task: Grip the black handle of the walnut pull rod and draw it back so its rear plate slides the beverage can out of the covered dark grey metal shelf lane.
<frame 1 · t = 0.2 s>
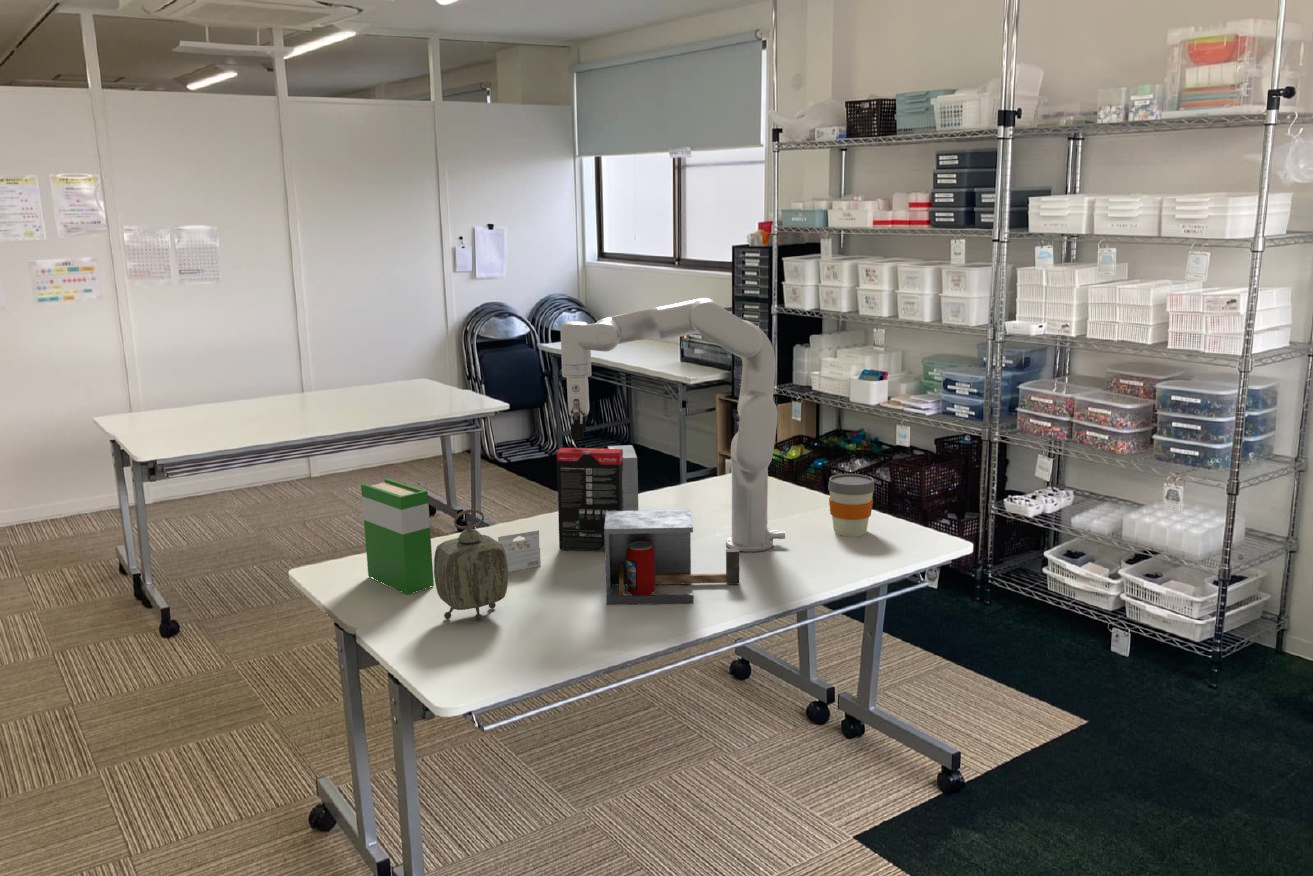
hand: (578, 435, 270), 31 cm above the table, tool pointing down, fingers open, 9 cm apart
hard drive box: (624, 517, 305), on the table
pull rod: (680, 573, 244), point 5 cm above the table, slide at 0.0 cm
tabletop clock: (475, 618, 231), on the table
graphics card box: (592, 548, 277), on the table
beverage can: (641, 594, 244), on the table
ink box: (518, 569, 262), on the table
hardback book: (400, 582, 254), on the table
reusable coffee cup: (850, 532, 288), on the table
shelf lane: (649, 593, 244), on the table
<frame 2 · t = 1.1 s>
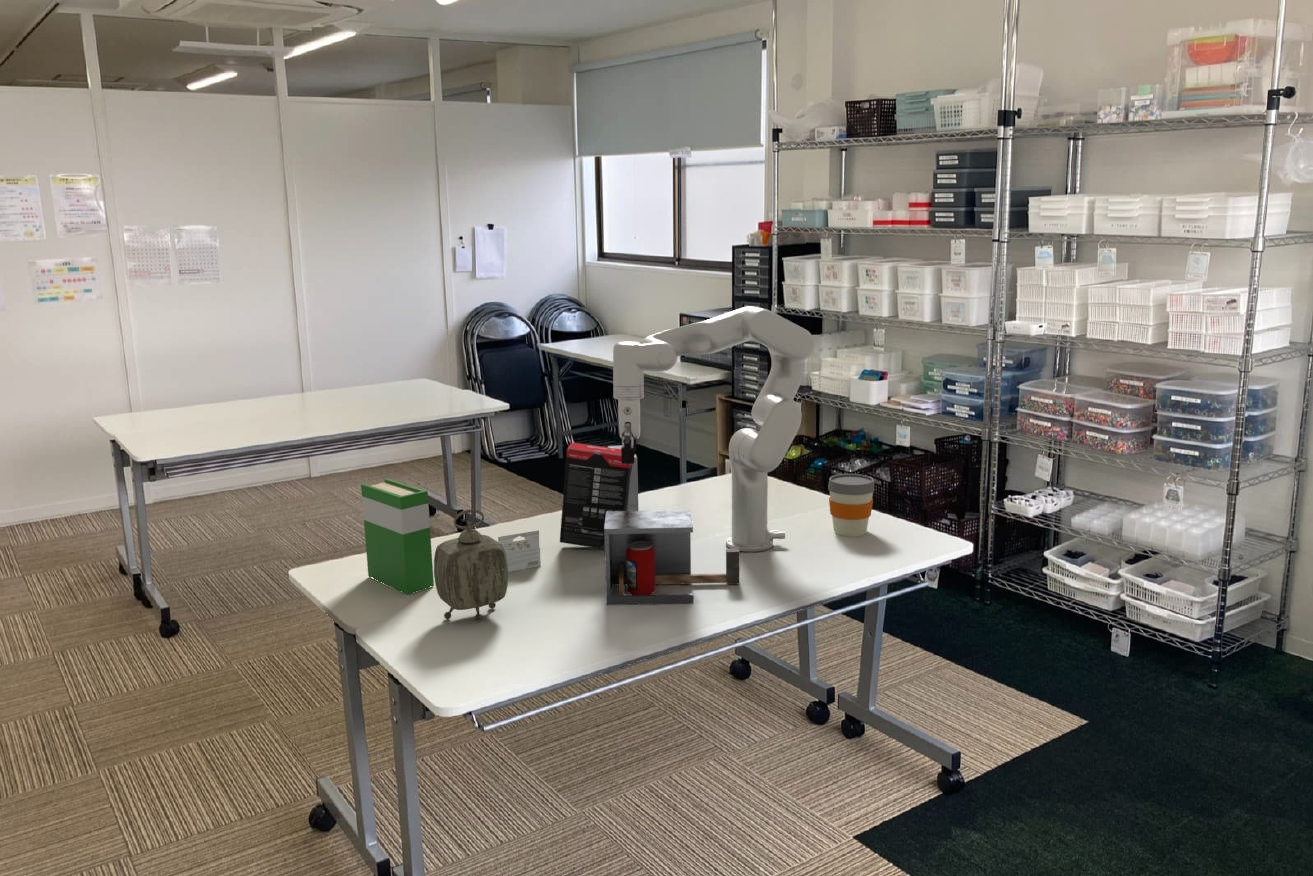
hand: (628, 458, 261), 27 cm above the table, tool pointing down, fingers open, 9 cm apart
graphics card box: (592, 544, 277), point 1 cm above the table, touching gripper
everything else where it was.
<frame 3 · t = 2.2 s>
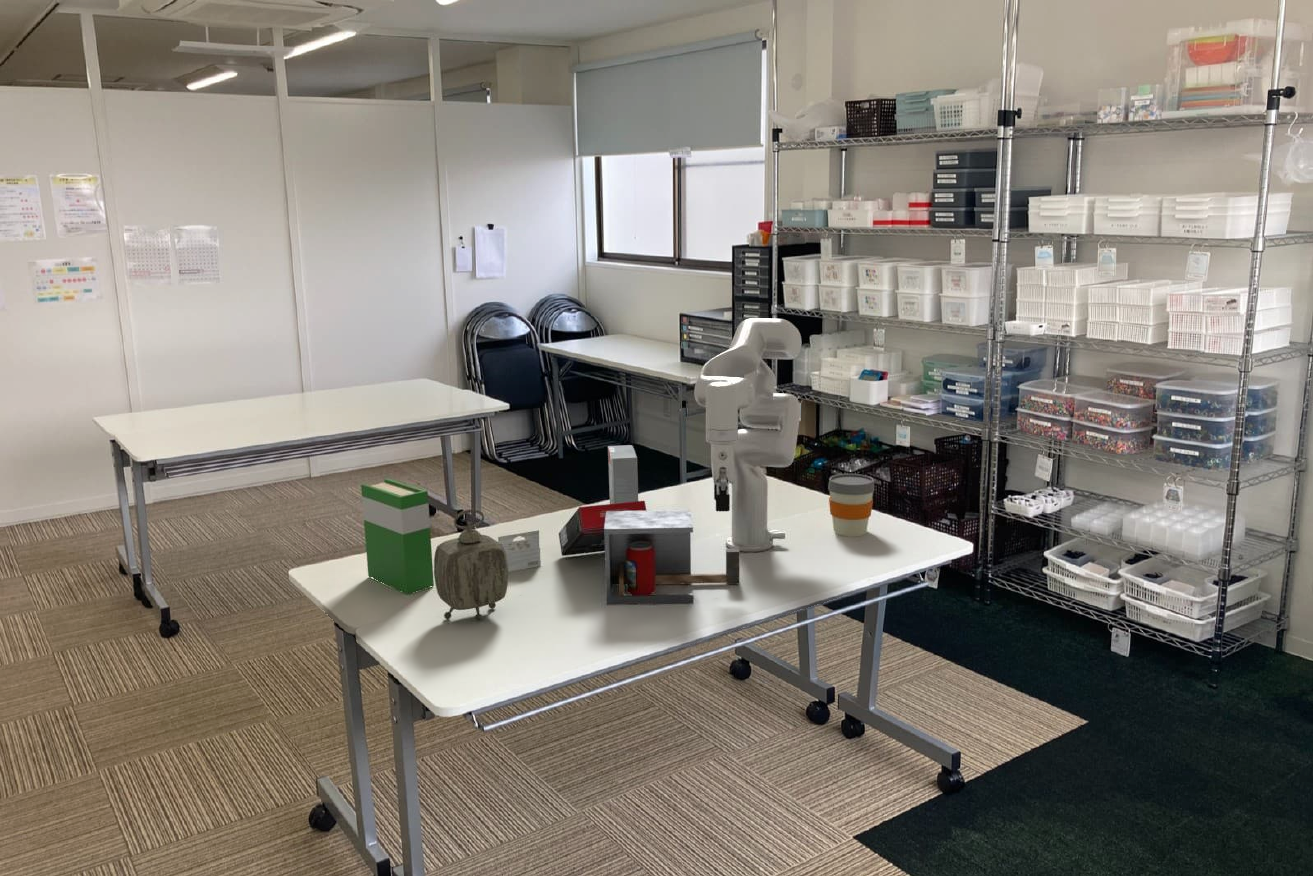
hand: (721, 505, 246), 19 cm above the table, tool pointing down, fingers open, 9 cm apart
graphics card box: (591, 542, 274), point 2 cm above the table, touching shelf lane
everything else where it was.
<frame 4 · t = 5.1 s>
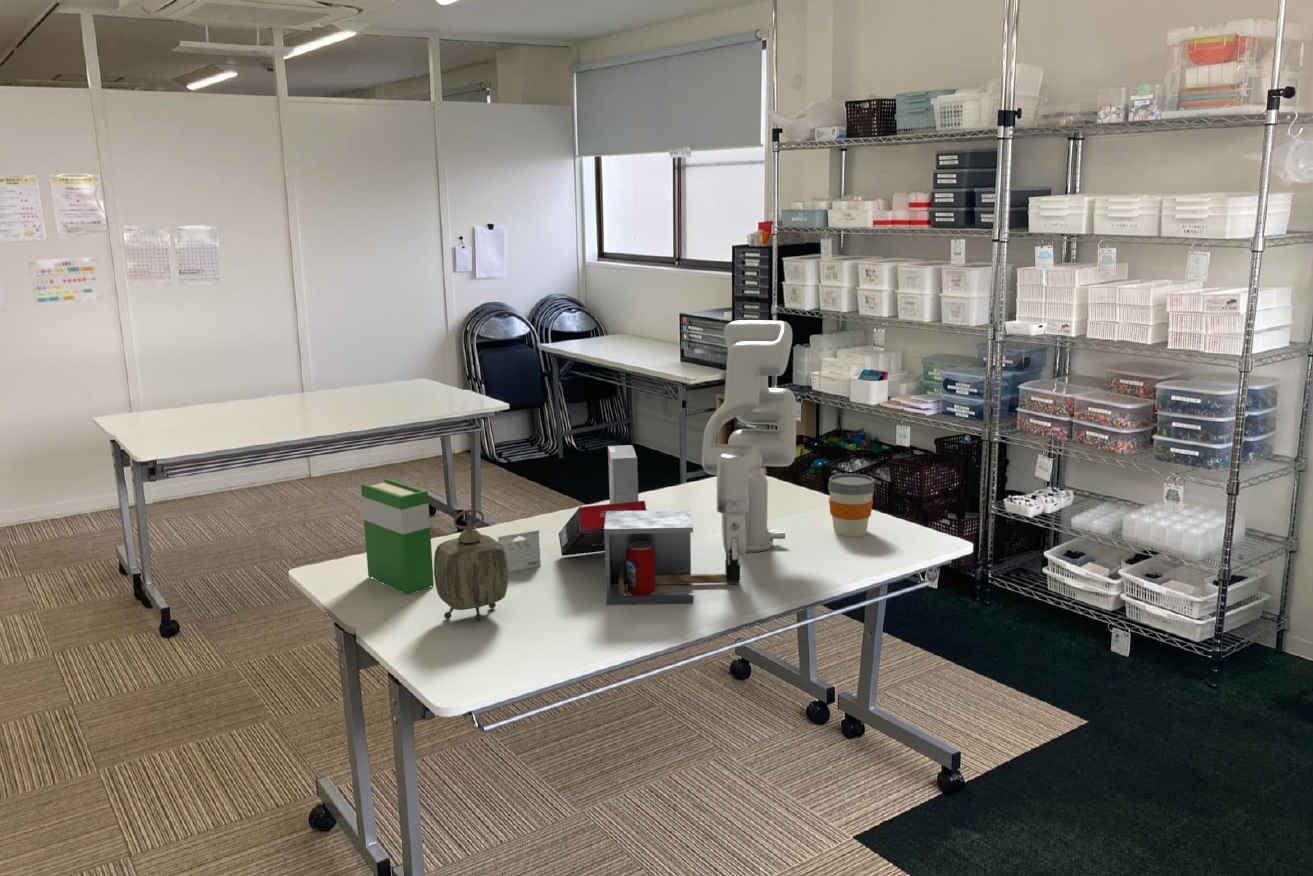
hand: (732, 577, 249), 2 cm above the table, tool pointing down, fingers closed on pull rod, 2 cm apart
pull rod: (680, 573, 244), point 5 cm above the table, slide at 0.0 cm, touching gripper
everything else where it was.
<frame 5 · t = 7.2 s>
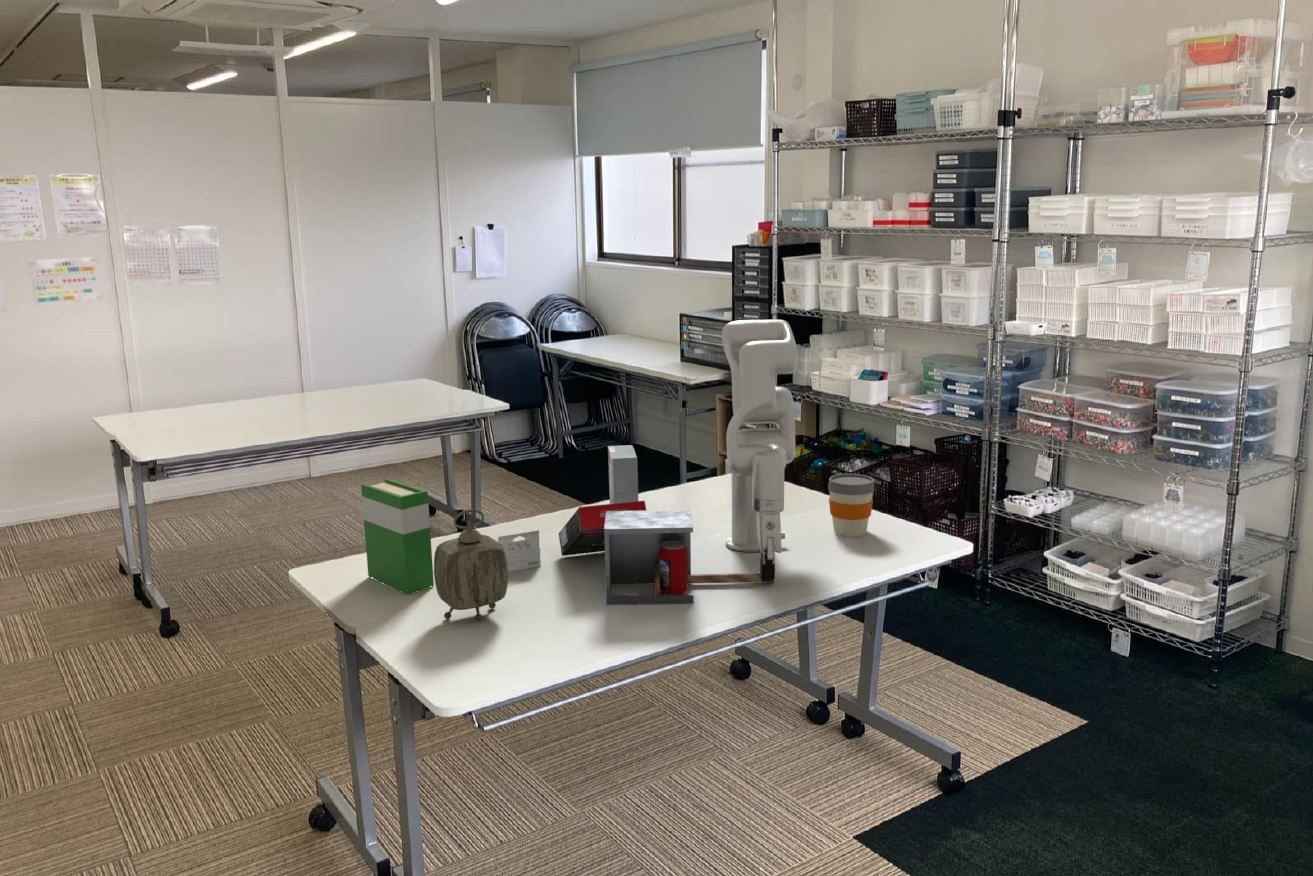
hand: (767, 576, 249), 2 cm above the table, tool pointing down, fingers closed on pull rod, 2 cm apart
pull rod: (715, 572, 244), point 4 cm above the table, slide at 8.3 cm, touching beverage can, gripper
beverage can: (673, 593, 244), on the table, touching pull rod
everything else where it was.
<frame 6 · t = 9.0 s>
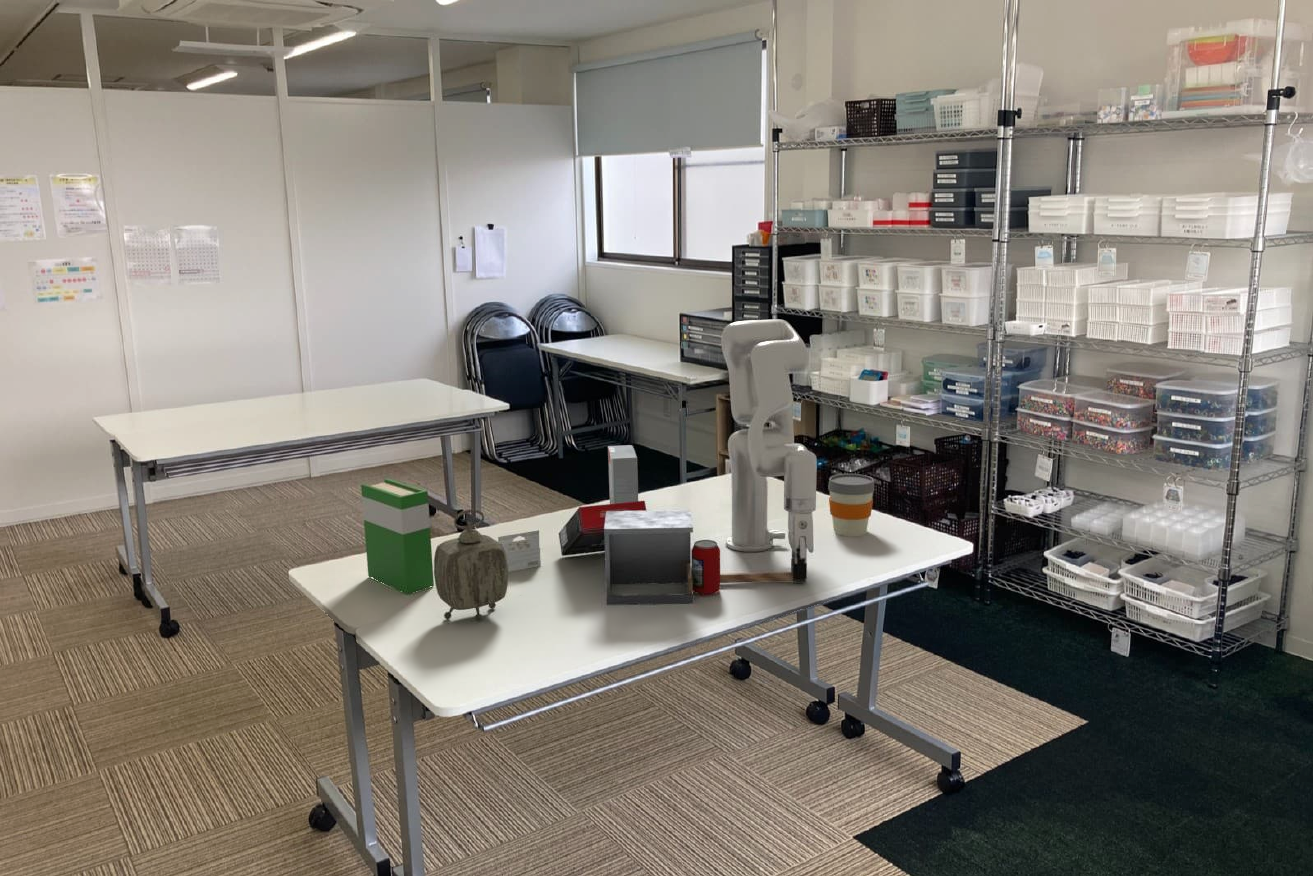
hand: (798, 576, 249), 2 cm above the table, tool pointing down, fingers closed on pull rod, 2 cm apart
pull rod: (747, 572, 244), point 4 cm above the table, slide at 15.9 cm, touching beverage can, gripper
beverage can: (705, 592, 244), on the table, touching pull rod
everything else where it was.
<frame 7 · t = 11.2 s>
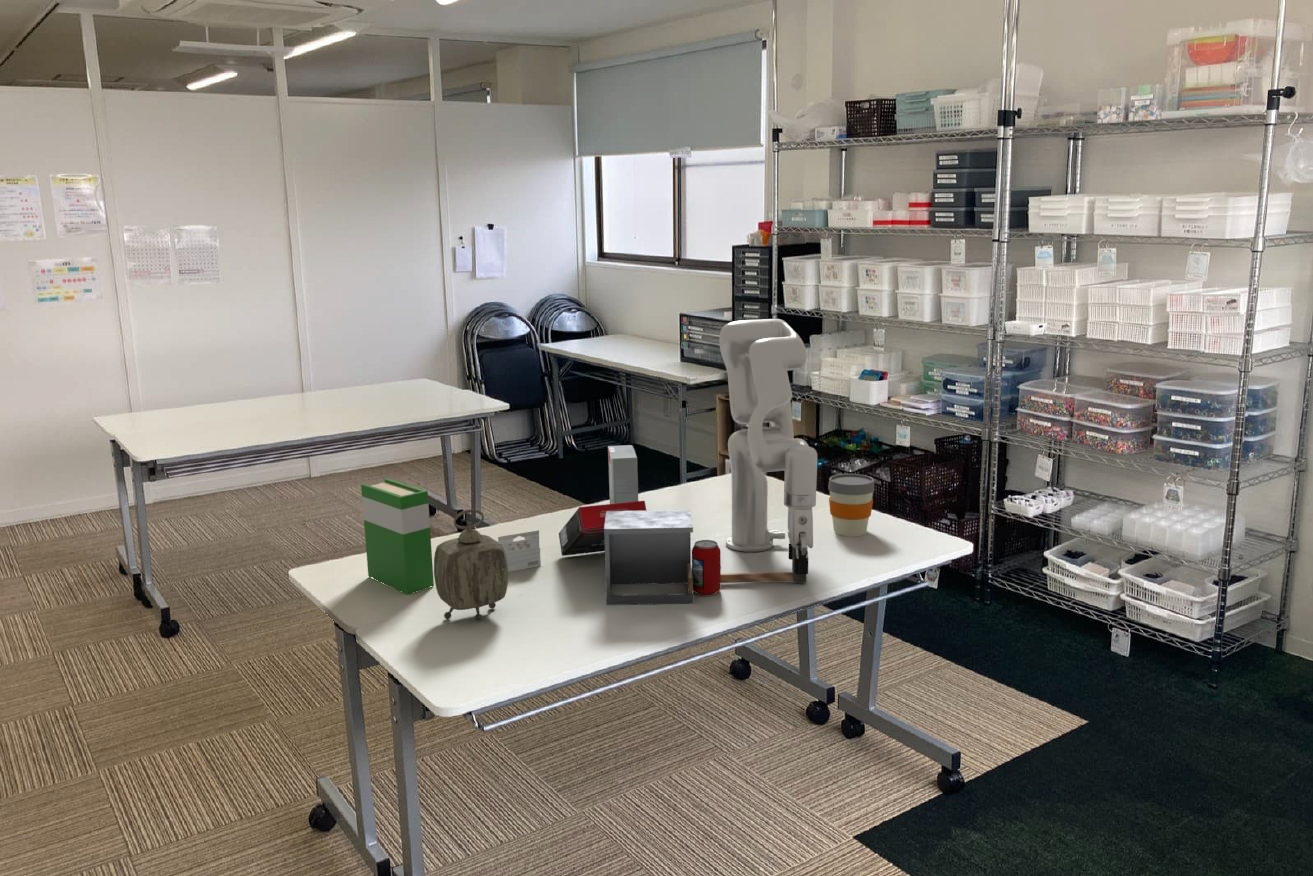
hand: (798, 566, 249), 4 cm above the table, tool pointing down, fingers open, 9 cm apart
pull rod: (747, 572, 244), point 5 cm above the table, slide at 16.0 cm
beverage can: (706, 592, 244), on the table
everything else where it was.
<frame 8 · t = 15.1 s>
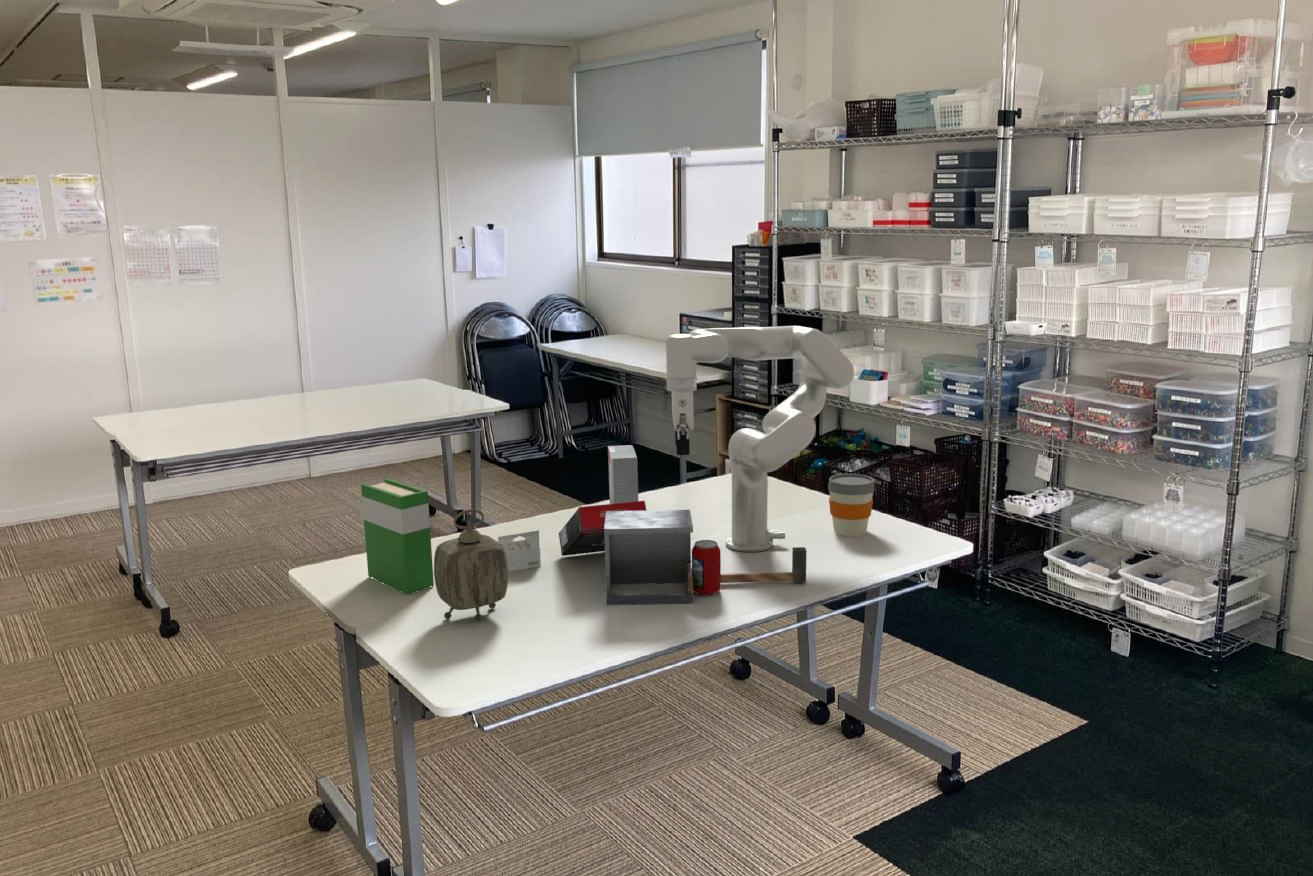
hand: (682, 450, 263), 28 cm above the table, tool pointing down, fingers open, 9 cm apart
nothing on the table moved.
at the end: pull rod slide at 16.0 cm; beverage can inside the target area (2.2 cm from its centre), on the table; beverage can tilted 0° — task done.
